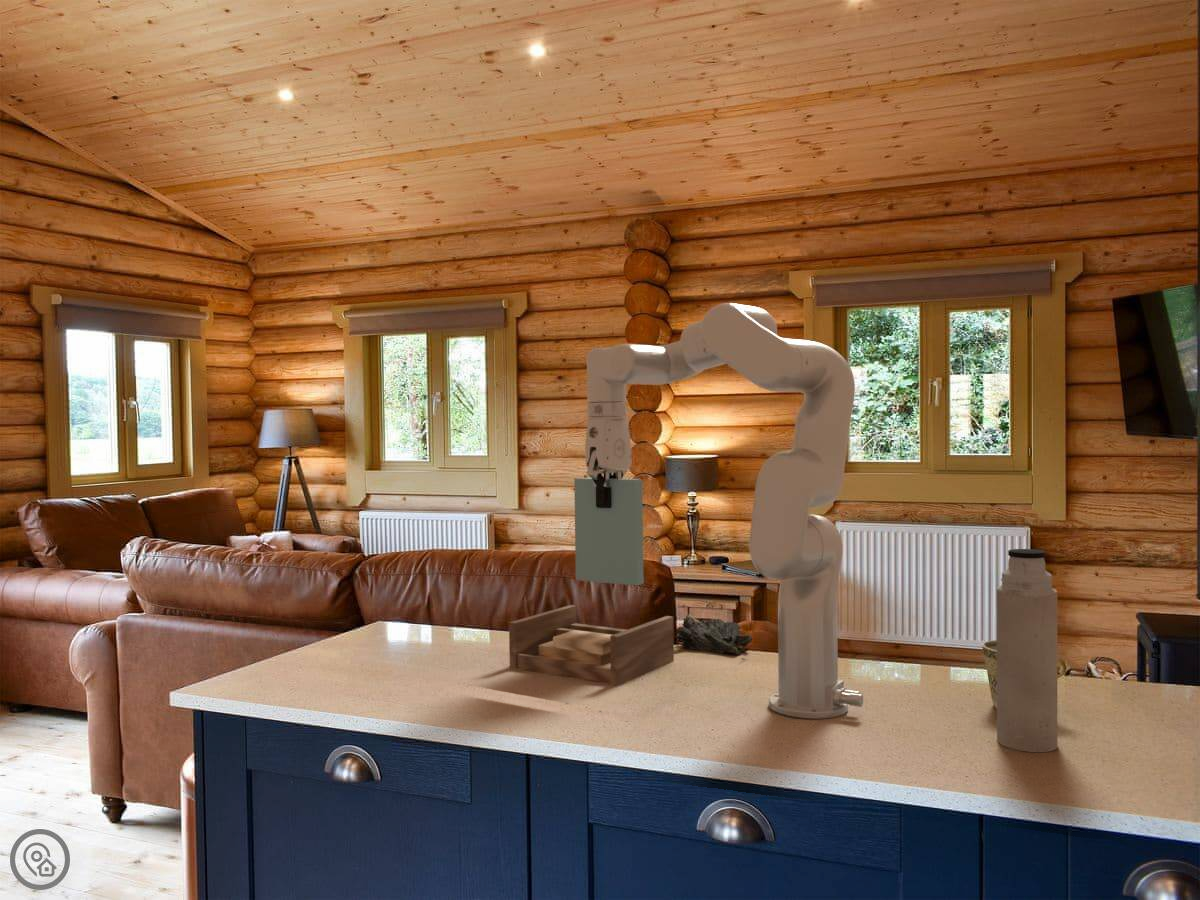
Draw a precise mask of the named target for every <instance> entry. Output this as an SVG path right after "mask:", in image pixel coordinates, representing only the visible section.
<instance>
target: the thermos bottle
mask: <svg viewBox="0 0 1200 900" xmlns="http://www.w3.org/2000/svg"><path fill="white" fill-rule="evenodd" d="M1007 555H1008V556H1009V557H1008V559H1007V560H1008V561H1007V563H1008V565H1007V567H1008V568H1007V569H1005V570H1003V571H1002V572H1001V578H1000V581H1001V585H999V586H997V587H996V640H997V708H996V740H997V742H998V744H1000V745H1002V746H1004V747H1005V748H1008V749H1013V750H1016V751H1021V752H1022V751H1023V752H1028V753H1047V752H1052V751H1054V750H1057V749H1058V736H1059V735H1058V732H1059V731H1058V679H1057V675H1058V662H1057V658H1058V590H1057V589H1056V588H1053V581H1054V580H1053V575H1052V574H1051V573H1050V572H1048V571H1047V570H1046V561H1045V558H1046V551H1045V550H1039V549H1031V548H1013V549H1009V550H1007Z"/></svg>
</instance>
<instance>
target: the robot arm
mask: <svg viewBox="0 0 1200 900" xmlns="http://www.w3.org/2000/svg"><path fill="white" fill-rule="evenodd" d="M723 365H728V366H729V367H730V368H731V369H733V370H734V371H735V372H736V373H738V374H740V375H741V376H743V377H744V378H745V379H747V380H748V381H749V382H751V383H752V384H754V385H755V386H756V387H759V388H761V389H764V390H766V391H770V392H777V393H779V392H780V393H782V392H783V393H786V392H787V393H801V394H803V395H804V400H803V402H802V404H801V406H800V408H799V411H798V413H797V416H796V419H795V425H794V432H793V433H794V434H793V435H794V436H793V439H792V440H793V441H792V445H791V449H789V450H782V451H779V452H776V453H774V454H772V455H771V456H770V457H769V458H767V460H765V462H764V463H763V465H762V466H761V468H760V470H759V472H758V476H757V479H756V483H755V489H754V496H753V505H752V515H751V522H750V523H751V524H750V531H749V532H750V533H749V538H748V539H749V541H748V544H749V545H748V547H749V555H750V559H751V562H752V564H753V566H754V568H755V569H756V570H757V572H758V573H759V574H761V575H762V576H763V577H765V578H767V579H770V580H775V581H780V583H779V590H778V596H777V597H778V598H777V632H778V633H777V646H778V647H777V653H778V657H777V661H778V662H777V664H778V666H777V667H778V675H777V676H778V678H777V679H778V682H777V683H778V692H777V693H775V694H773V695H771V696H770V697H769V698H768V706H769V708H770V709H771V710H772V711H774V712H776V713H778V714H780V715H784V716H788V717H792V718H799V719H800V718H801V719H816V720H817V719H818V720H819V719H831V718H837V717H839V716H842V715H844V714H846V712H848V710H849V706H851V707H853V706H854V707H859V708H862V707H863V704H864V695H863V694H862V693H861V692H860V691H857V690H849V689H847V688H845V687H844V685H845V684H844V683H845V682H844V680H842V679H839V677H838V676H839V675H838V673H839V671H838V670H839V668H838V667H839V665H838V663H839V662H838V660H839V659H838V657H839V656H838V655H839V653H838V651H839V650H838V649H839V648H838V647H839V645H838V644H839V643H838V641H839V640H838V613H839V612H838V611H839V609H838V607H839V605H838V603H839V598H838V597H839V582H840V581H839V580H840V572H841V568H842V560H843V547H844V546H843V540H842V536H841V533H840V531H839V529H838V527H837V526H836V525H835V524H834V523H833V522H832V521H831V520H830V519H828V518H827V517H824V516H822V515H818V514H812V513H810V510H811V509H816V508H817V509H818V508H823V507H825V506H826V507H827V506H828V505H831V504H833V503H834V502H835V501H836V500H838V498H839V496H840V494H841V493H842V489H843V484H844V483H843V482H844V476H845V466H846V460H847V452H848V444H849V434H850V433H849V432H850V425H851V424H850V423H851V420H852V419H851V418H852V413H853V408H854V401H855V394H856V393H855V392H856V384H855V378H854V374H853V370H852V367H851V366H850V364H849V363H848V361H847V360H846V359H845V358H844V356H843V355H841V354H840V353H839V352H838V351H837V350H835V349H834V348H832V347H830V346H829V345H826V344H824V343H821V342H817V341H812V340H807V339H798V338H797V339H796V338H787V337H780V336H778V326H777V323H776V320H775V319H774V317H773V316H772V314H770V313H769V312H768V311H766V310H765V309H763V308H761V307H757V306H753V305H746V304H740V303H733V302H725V303H724V302H723V303H719V304H716V305H715V306H713V307H712V308H710V309H709V310H708V311H707V312H706V313H705V315H704V316H703V318H702V320H699V321H696V322H693V323H690V324H687V325H686V326H685V327H684V329H683V330H682V332H681V334H680V339H679V340H678V341H674V342H671V343H668V344H662V345H650V344H643V343H641V344H639V343H622V344H621V343H620V344H617V345H614V346H611V347H596V348H592V349H590V350H589V351H588V352H587V354H586V384H587V385H586V391H587V392H586V394H587V398H586V399H587V401H586V402H587V405H586V406H587V408H586V409H587V425H586V431H585V432H586V433H585V449H584V450H585V457H584V458H585V466H586V468H587V471H586V475H587V476H588V477H589V478H592V479H593V481H594V487H596V507H597V508H611V487H609V479H624V476H625V474H627V472H628V470H629V469H630V468H631V467H632V463H633V462H632V447H631V446H632V445H631V435H630V434H631V433H630V427H629V422H628V419H627V385H645V386H646V385H649V386H660V385H666V384H671V383H675V382H679V381H683V380H686V379H690V378H693V377H695V376H697V375H698V374H701V373H702V372H703V371H705V370H709V369H713V368H716V367H720V366H721V367H722V366H723Z"/></svg>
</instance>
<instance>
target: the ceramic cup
mask: <svg viewBox="0 0 1200 900" xmlns="http://www.w3.org/2000/svg"><path fill="white" fill-rule="evenodd" d="M981 647H982V654H983V655H982V656H983V660H984V665H985V670H986V672H987V673H986V674H987V679H988V684H989V685H988V686H989V690H990V696H991V697H990V698H991V701H992V704H993V707H995V708H996V709H997V639H993V640H988V641H985V642H983V643H982V646H981ZM1057 663H1060V665H1061V666H1062V671H1061V672H1060V673H1059V674H1057V680H1058V679H1059V678H1061V677H1063V676H1064V675H1065V674H1066V672H1067V666H1066V663H1065V661H1064V660H1063V659H1061V657H1057Z"/></svg>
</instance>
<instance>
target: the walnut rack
mask: <svg viewBox="0 0 1200 900" xmlns="http://www.w3.org/2000/svg"><path fill="white" fill-rule="evenodd" d="M577 613H578V612H577V605H574V604H572V605H571V604H569V605H565V606H562V607H559V608H556V609H552V610H549V611H545V612H541V613H537V614H534V615H531V616H528V617H527V616H526V617H523V618H521V619H517V620H514V621H509V622H508V635H509V636H508V637H509V638H508V639H509V642H508V643H509V649H508V650H509V651H508V652H509V669H513V670H520V671H525V672H526V671H527V672H533V673H539V674H545V675H550V676H557V677H563V678H569V679H574V680H581V681H585V682H586V681H587V682H594V683H599V684H605V685H612V686H618V687H619V686H621V685H623V684H625V683H628V682H630V681H632V680H635V679H637V678H640V677H641V676H643V675H646V674H648V673H651V672H653V671H655V670H657V669H659V668H662V667H664V666H666V665H668V664H671V663H673V662H675V661H674V659H675V658H674V657H675V655H674V654H675V653H674V652H675V647H674V646H675V645H674V644H675V643H674V642H675V641H674V639H675V638H674V637H675V636H674V631H675V630H674V628H675V627H674V616H670V615H665V616H662V617H660V618H657V619H654V620H650V621H648V622H646V623H642V624H640V625H637V626H633V627H631V628H628V629H625V628H616V627H610V626H609V627H608V626H600V625H595V624H594V625H592V624H591V625H590V624H584V623H577V622H578V621H577ZM573 630H579V631H586V632H594V633H602V634H609V635H611V636H610V647H611V667H605V666H598V665H592V664H585V663H579V662H572V661H565V660H559V659H552V658H546V657H539V645H541V644H544V643H547V642H550V641H553V637H554V636H557V635H561V634H564V633H567V632H570V631H573Z"/></svg>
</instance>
